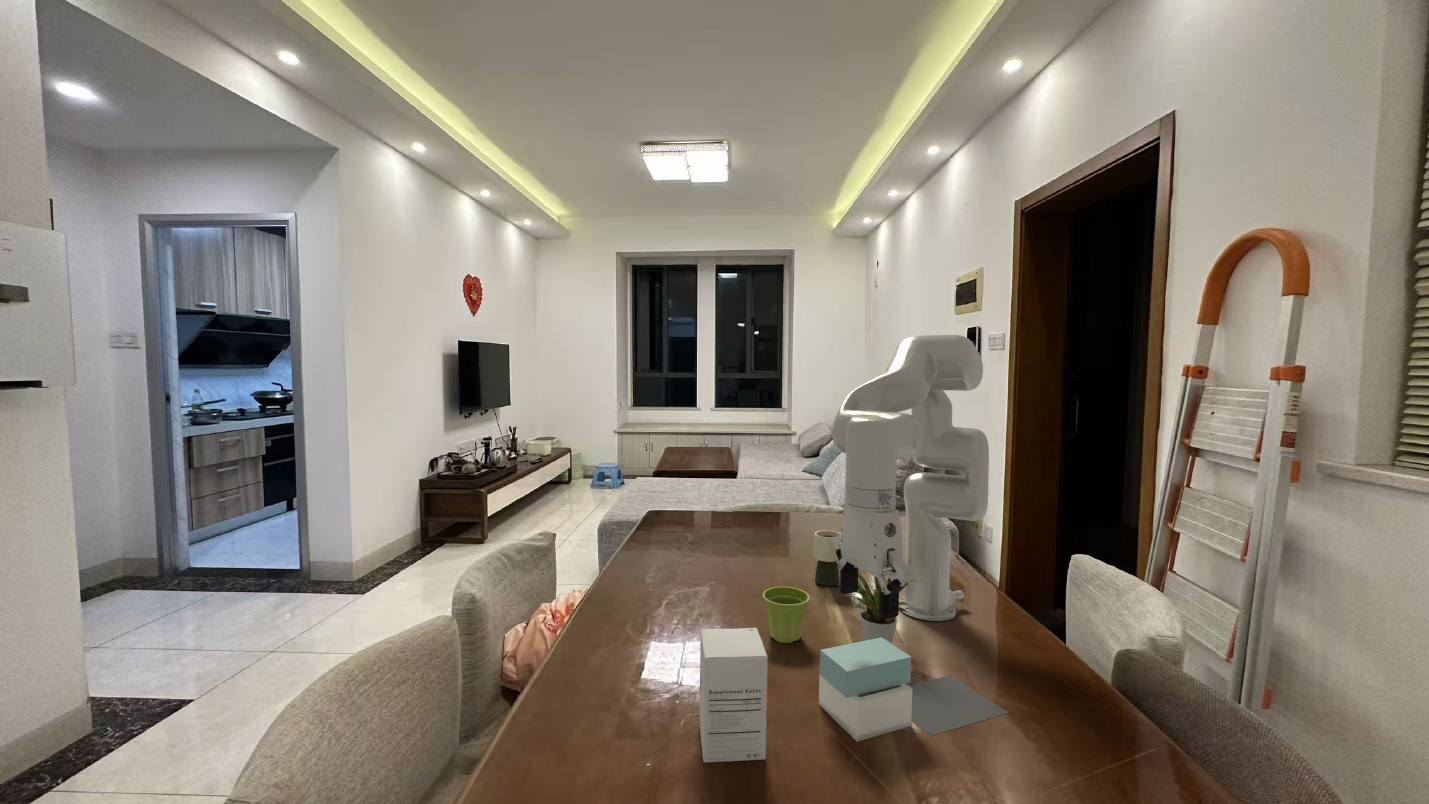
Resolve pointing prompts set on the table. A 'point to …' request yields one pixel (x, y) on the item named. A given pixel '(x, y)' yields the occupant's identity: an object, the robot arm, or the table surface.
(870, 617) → the house plant
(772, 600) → the plant pot
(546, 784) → the table surface
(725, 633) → the supplement box
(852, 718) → the white open-top box
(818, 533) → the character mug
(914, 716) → the mat
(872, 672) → the teal rectangular block
